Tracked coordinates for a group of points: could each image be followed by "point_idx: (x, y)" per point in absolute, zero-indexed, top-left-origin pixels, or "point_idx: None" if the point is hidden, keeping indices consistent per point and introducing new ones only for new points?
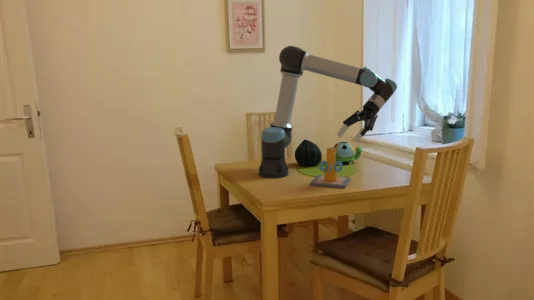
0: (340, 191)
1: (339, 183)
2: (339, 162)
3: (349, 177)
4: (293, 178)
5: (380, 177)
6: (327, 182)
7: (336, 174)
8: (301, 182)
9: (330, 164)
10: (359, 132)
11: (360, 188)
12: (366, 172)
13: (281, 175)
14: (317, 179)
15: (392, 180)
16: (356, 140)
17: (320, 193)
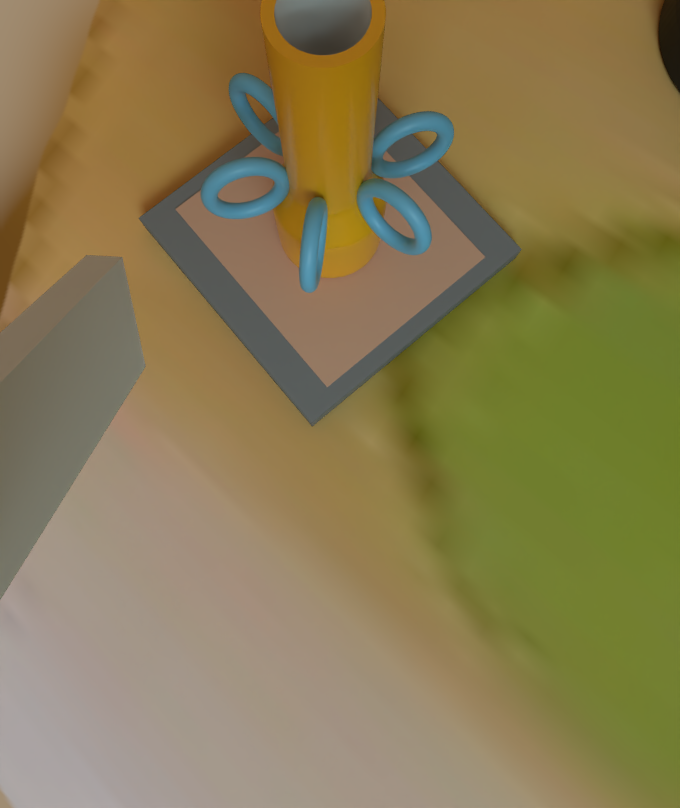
0: (105, 153)
1: (206, 219)
2: (303, 238)
3: (316, 415)
4: (587, 98)
5: (234, 718)
6: None
7: (277, 225)
8: (453, 80)
9: (244, 75)
10: (3, 337)
11: None
12: (456, 757)
13: (666, 31)
14: None
15: (94, 725)
16: (133, 334)
17: (148, 25)
